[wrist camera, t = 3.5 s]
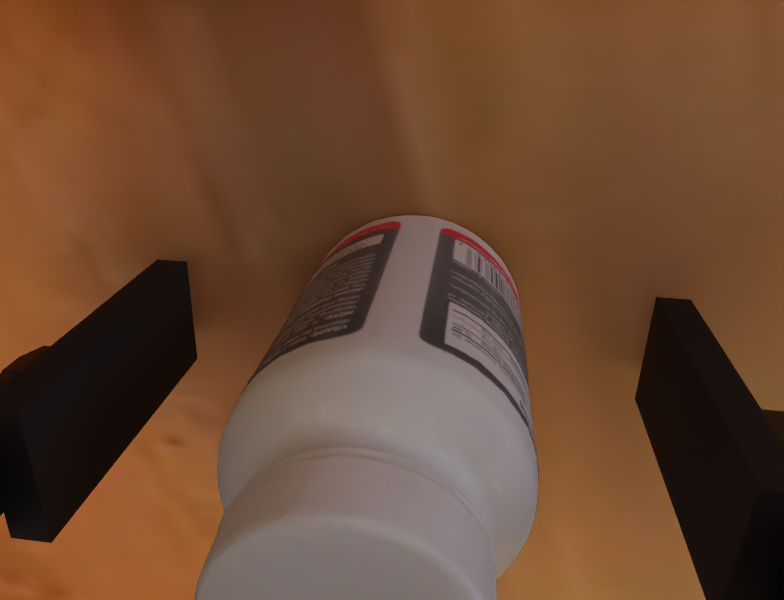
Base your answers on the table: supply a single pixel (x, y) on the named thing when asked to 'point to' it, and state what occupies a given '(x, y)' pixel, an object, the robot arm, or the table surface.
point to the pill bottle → (383, 430)
